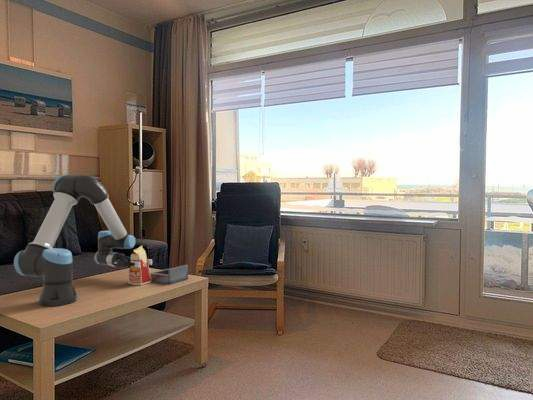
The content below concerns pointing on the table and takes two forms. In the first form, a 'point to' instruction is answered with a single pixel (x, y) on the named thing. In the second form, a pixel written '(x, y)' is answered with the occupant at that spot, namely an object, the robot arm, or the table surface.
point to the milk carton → (139, 268)
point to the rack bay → (170, 275)
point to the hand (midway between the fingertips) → (145, 263)
